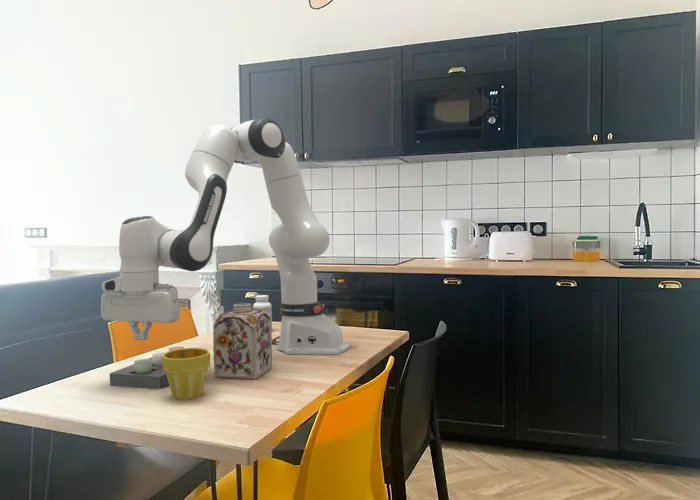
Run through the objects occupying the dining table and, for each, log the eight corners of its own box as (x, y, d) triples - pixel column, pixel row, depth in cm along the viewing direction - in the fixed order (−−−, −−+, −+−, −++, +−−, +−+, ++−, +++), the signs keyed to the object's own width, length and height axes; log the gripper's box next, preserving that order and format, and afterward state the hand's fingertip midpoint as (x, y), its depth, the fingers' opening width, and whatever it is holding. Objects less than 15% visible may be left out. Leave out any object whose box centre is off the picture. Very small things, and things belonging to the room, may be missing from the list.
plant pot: (197, 404, 117) (196, 359, 116) (154, 401, 119) (152, 357, 118) (218, 389, 127) (217, 348, 126) (178, 387, 129) (177, 346, 129)
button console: (207, 366, 148) (206, 355, 148) (160, 389, 128) (159, 376, 128) (162, 363, 152) (162, 353, 152) (110, 385, 132) (109, 373, 131)
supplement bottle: (254, 329, 199) (253, 294, 199) (272, 329, 200) (272, 294, 199) (252, 333, 193) (251, 297, 192) (271, 332, 193) (270, 296, 192)
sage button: (155, 371, 134) (155, 359, 134) (145, 375, 130) (145, 363, 130) (141, 370, 135) (141, 358, 135) (131, 374, 132) (130, 362, 131)
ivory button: (172, 364, 141) (171, 352, 141) (163, 368, 137) (162, 356, 137) (159, 363, 142) (158, 352, 142) (149, 367, 138) (149, 355, 138)
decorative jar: (256, 380, 134) (254, 308, 133) (212, 378, 137) (210, 307, 136) (273, 367, 145) (272, 301, 145) (233, 366, 148) (231, 300, 147)
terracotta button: (187, 357, 148) (187, 346, 148) (179, 361, 144) (178, 350, 144) (174, 357, 149) (174, 346, 149) (165, 360, 145) (165, 349, 145)
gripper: (184, 282, 132) (185, 339, 133) (113, 281, 138) (115, 335, 138) (169, 285, 126) (170, 344, 126) (95, 283, 132) (97, 340, 132)
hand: (140, 339), depth 132 cm, fingers closed
